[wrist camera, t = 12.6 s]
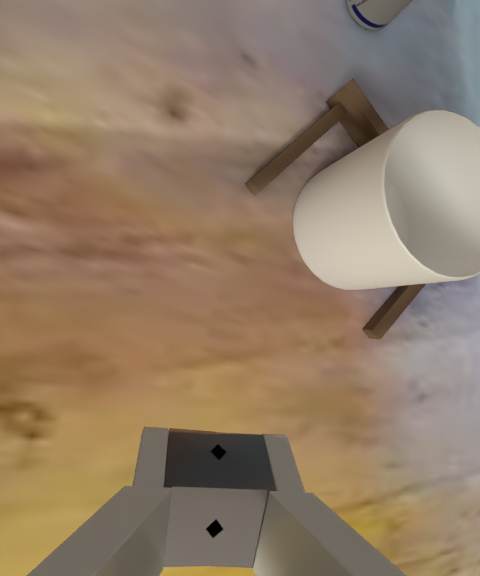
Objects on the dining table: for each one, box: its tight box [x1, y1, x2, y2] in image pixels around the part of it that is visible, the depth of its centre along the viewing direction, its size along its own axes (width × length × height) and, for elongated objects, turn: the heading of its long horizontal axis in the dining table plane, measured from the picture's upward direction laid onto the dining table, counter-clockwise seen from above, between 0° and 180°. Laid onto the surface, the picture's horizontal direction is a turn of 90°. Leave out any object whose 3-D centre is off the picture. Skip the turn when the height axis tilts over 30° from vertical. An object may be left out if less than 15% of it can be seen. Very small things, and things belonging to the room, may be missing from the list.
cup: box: [293, 109, 480, 290], centre depth 34 cm, size 12×12×12 cm
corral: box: [245, 79, 426, 339], centre depth 38 cm, size 20×13×3 cm, turn 43°
